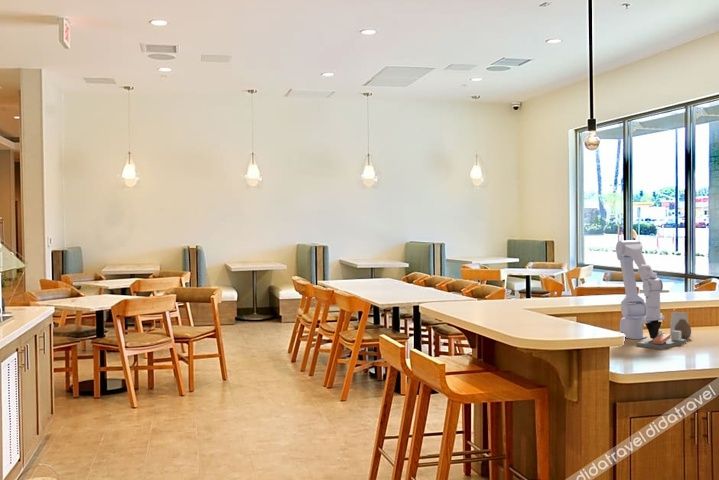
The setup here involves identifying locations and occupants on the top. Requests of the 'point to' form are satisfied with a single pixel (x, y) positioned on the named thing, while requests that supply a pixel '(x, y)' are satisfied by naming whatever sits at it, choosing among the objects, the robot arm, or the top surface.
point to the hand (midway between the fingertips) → (653, 338)
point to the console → (666, 344)
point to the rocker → (661, 338)
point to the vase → (683, 328)
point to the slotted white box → (676, 335)
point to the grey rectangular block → (677, 319)
